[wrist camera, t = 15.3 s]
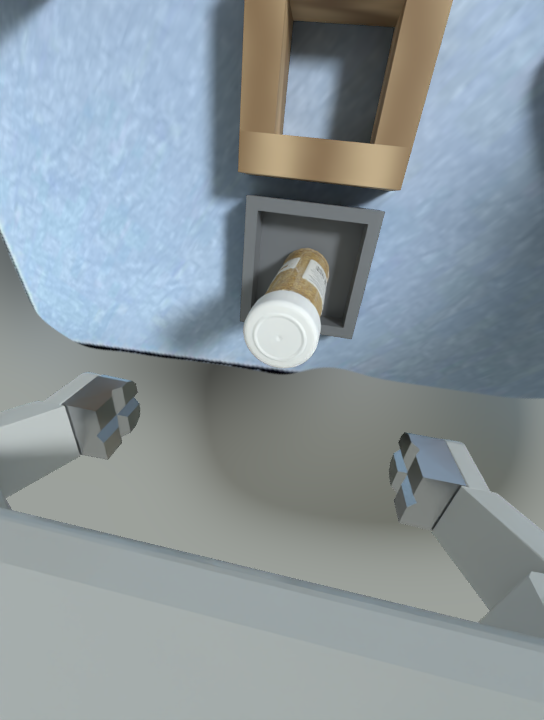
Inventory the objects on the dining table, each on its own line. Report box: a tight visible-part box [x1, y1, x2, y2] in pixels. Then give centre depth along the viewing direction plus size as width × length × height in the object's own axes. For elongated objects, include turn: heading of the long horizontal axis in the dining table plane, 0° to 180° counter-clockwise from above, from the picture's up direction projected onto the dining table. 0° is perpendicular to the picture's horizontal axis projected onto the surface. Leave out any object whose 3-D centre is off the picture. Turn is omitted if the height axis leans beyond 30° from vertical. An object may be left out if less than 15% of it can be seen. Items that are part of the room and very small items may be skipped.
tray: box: [240, 195, 385, 339], centre depth 28 cm, size 11×11×3 cm
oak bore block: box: [238, 0, 453, 191], centre depth 21 cm, size 12×12×4 cm
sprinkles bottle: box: [243, 248, 329, 368], centre depth 23 cm, size 5×5×14 cm
